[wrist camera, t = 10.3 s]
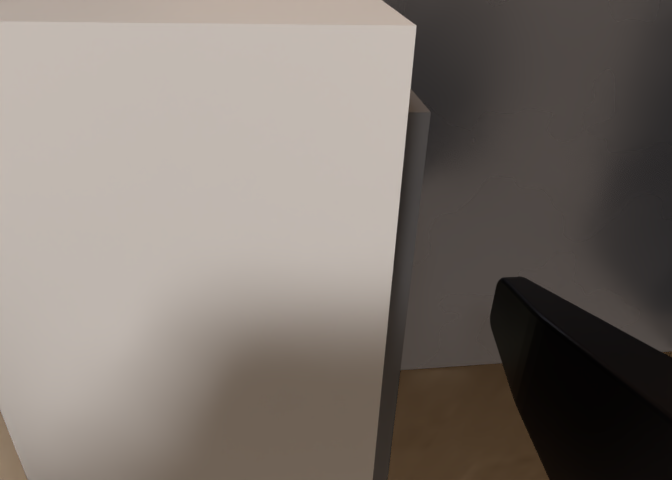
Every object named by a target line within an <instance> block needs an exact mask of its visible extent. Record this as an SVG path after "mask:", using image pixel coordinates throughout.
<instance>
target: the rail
mask: <svg viewBox="0 0 672 480" xmlns="http://www.w3.org/2000/svg"><path fill="white" fill-rule="evenodd" d="M382 1H384V2H385V3H386V4H388V5H389V6H390V7H392V8H393V9H395V10H396V11H397V12H399V13H400V14H401V15H403V16H404V17H405V18H407V19H408V20H410V21H411V22H412V23H414V24H415V25H416V26H417V27H416V37H415V47H414V58H413V68H412V78H411V89H412V91H413V92H414V93H415V94H416V95H417V97H418V98H419V99H420V100H421V101H422V102H423V104H424V105H425V106H426V107H427V108H428V110H429V111H430V112H431V115H430V123H429V132H428V140H427V149H426V157H425V166H424V174H423V183H422V191H421V200H420V208H419V217H418V225H417V234H416V242H415V251H414V259H413V268H412V276H411V285H410V293H409V302H408V310H407V319H406V327H405V336H404V344H403V353H402V361H401V369H400V370H410V369H424V368H439V367H453V366H468V365H482V364H496V363H502V361H501V358H500V355H499V352H498V349H497V346H496V342H495V339H494V336H493V333H492V330H491V325H490V313H491V308H492V303H493V299H494V294H495V289H496V285H497V282H498V280H499V279H501V278H503V277H519V276H521V277H525V278H527V279H529V280H530V281H532V282H534V283H536V284H538V285H539V286H541V287H543V288H545V289H547V290H549V291H550V292H552V293H554V294H556V295H558V296H560V297H561V298H563V299H565V300H567V301H569V302H571V303H572V304H574V305H576V306H578V307H580V308H582V309H583V310H585V311H587V312H589V313H591V314H593V315H594V316H596V317H598V318H600V319H602V320H604V321H605V322H607V323H609V324H611V325H613V326H615V327H616V328H618V329H620V330H622V331H624V332H626V333H627V334H629V335H631V336H633V337H635V338H636V339H638V340H640V341H642V342H644V343H646V344H647V345H649V346H651V347H653V348H655V349H657V350H658V351H660V352H669V351H672V0H382Z"/></svg>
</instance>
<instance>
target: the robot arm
mask: <svg viewBox="0 0 672 480" xmlns="http://www.w3.org/2000/svg"><path fill="white" fill-rule="evenodd" d="M490 325H491V330H492V333H493V336H494V339H495V342H496V346H497V349H498V352H499V355H500V358H501V361H502V364H503V367H504V371H505V374H506V377H507V380H508V383H509V386H510V389H511V392H512V395H513V398H514V401H515V404H516V406H517V408H518V411H519V413H520V415H521V418H522V420H523V422H524V424H525V426H526V429H527V431H528V433H529V435H530V438H531V440H532V442H533V444H534V446H535V449H536V451H537V453H538V455H539V457H540V460H541V462H542V464H543V466H544V468H545V471H546V473H547V475H548V477H549V479H550V480H672V358H671V357H669V356H668V355H666V354H664V353H662V352H660V351H658V350H657V349H655V348H653V347H651V346H649V345H647V344H646V343H644V342H642V341H640V340H638V339H636V338H635V337H633V336H631V335H629V334H627V333H626V332H624V331H622V330H620V329H618V328H616V327H615V326H613V325H611V324H609V323H607V322H605V321H604V320H602V319H600V318H598V317H596V316H594V315H593V314H591V313H589V312H587V311H585V310H583V309H582V308H580V307H578V306H576V305H574V304H572V303H571V302H569V301H567V300H565V299H563V298H561V297H560V296H558V295H556V294H554V293H552V292H550V291H549V290H547V289H545V288H543V287H541V286H539V285H538V284H536V283H534V282H532V281H530V280H529V279H527V278H525V277H521V276H519V277H503V278H501V279H499V280H498V282H497V285H496V289H495V294H494V299H493V303H492V308H491V313H490Z"/></svg>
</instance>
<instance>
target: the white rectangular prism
mask: <svg viewBox="0 0 672 480" xmlns="http://www.w3.org/2000/svg"><path fill="white" fill-rule="evenodd" d="M416 27H417V26H416V25H415V24H414V23H412V22H411V21H410V20H408V19H407V18H405V17H404V16H403V15H401V14H400V13H399V12H397V11H396V10H395V9H393V8H392V7H390V6H389V5H388V4H386V3H385V2H384V1H382V0H0V411H1V413H2V416H3V418H4V421H5V423H6V426H7V429H8V431H9V434H10V436H11V439H12V441H13V444H14V446H15V449H16V451H17V454H18V456H19V459H20V462H21V464H22V467H23V469H24V472H25V474H26V477H27V479H28V480H388V471H389V463H390V454H391V446H392V437H393V429H394V420H395V412H396V403H397V395H398V386H399V378H400V369H401V361H402V353H403V344H404V336H405V327H406V319H407V310H408V302H409V293H410V285H411V276H412V268H413V259H414V251H415V242H416V234H417V225H418V217H419V208H420V200H421V191H422V183H423V174H424V166H425V157H426V149H427V140H428V132H429V123H430V115H431V112H430V111H429V110H428V108H427V107H426V106H425V105H424V104H423V102H422V101H421V100H420V99H419V98H418V97H417V95H416V94H415V93H414V92H413V91H412V89H411V78H412V68H413V58H414V47H415V37H416Z"/></svg>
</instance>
